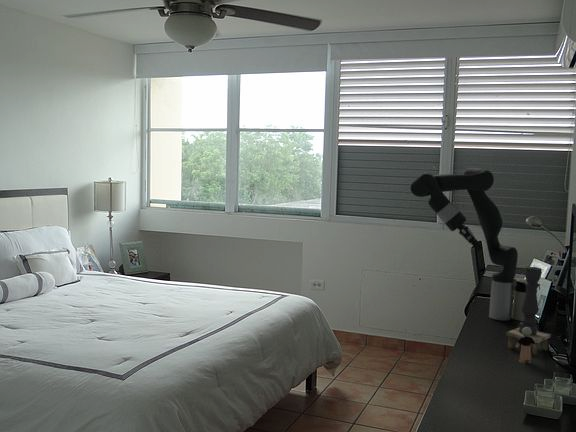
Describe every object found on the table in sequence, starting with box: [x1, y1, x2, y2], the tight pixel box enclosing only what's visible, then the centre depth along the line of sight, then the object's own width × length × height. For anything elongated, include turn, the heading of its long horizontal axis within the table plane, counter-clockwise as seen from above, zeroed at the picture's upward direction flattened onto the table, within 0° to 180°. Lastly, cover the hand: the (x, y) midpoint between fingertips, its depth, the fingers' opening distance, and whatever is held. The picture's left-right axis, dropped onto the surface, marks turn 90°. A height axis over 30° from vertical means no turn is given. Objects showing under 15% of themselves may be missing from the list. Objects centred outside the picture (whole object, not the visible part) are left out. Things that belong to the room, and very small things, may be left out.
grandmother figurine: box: [515, 327, 536, 364], centre depth 214 cm, size 8×4×13 cm, turn 111°
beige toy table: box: [505, 327, 552, 356], centre depth 231 cm, size 12×12×6 cm
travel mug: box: [511, 278, 527, 322], centre depth 275 cm, size 8×8×18 cm
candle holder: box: [518, 266, 543, 335], centre depth 230 cm, size 6×6×25 cm
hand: (479, 247), depth 235 cm, fingers open, 8 cm apart
